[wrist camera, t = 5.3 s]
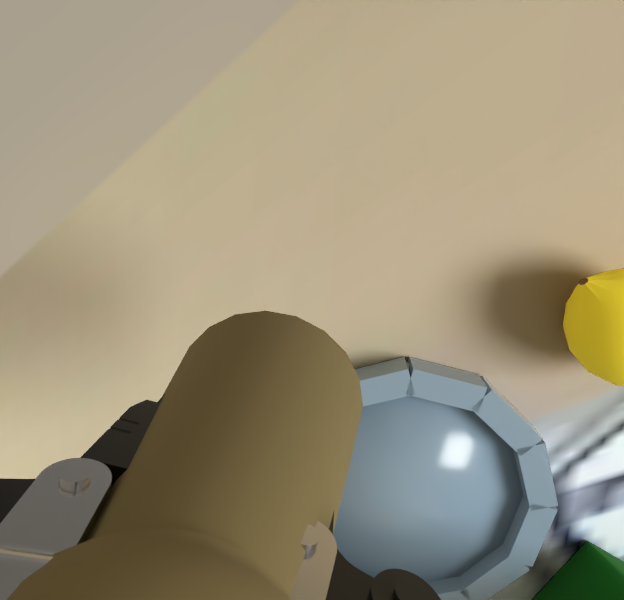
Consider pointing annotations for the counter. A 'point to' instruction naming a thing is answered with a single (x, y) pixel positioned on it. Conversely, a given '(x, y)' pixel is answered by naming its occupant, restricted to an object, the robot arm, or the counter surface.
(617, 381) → the lemon
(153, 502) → the tan pawn shape
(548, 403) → the counter surface
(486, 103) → the counter surface
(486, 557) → the round dish
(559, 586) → the milk carton
